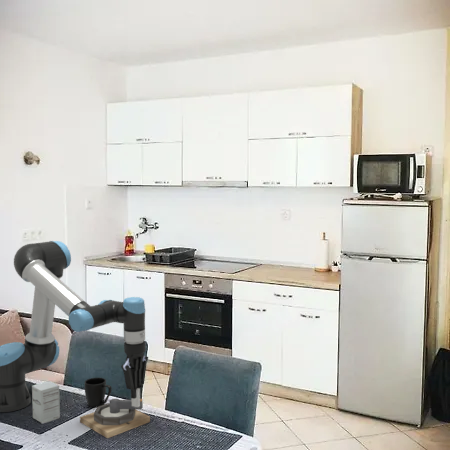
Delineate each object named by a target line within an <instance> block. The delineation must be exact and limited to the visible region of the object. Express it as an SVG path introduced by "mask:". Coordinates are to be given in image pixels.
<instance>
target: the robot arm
mask: <svg viewBox="0 0 450 450" xmlns="http://www.w3.org/2000/svg"><path fill="white" fill-rule="evenodd" d="M71 262H72V256H71V252H70V249H69V247H68V246H67V245H66V244H65V243H64V242H62V241H59V240H55V241H54V240H49V241H43V242H35V243H27V244H24V245H22V246H21V247H20V248H18V250H17V251H16V252H15V254H14V258H13V267H14V270H15V272H16V274H17V275H18V276H19V277H20V278H21V279H22V280H23V281H24V282H26V283H31V284H32V285H33V286H34V292H33V302H32V311H31V320H30V325H29V326H30V327H29V332H28V333H27V334H26V335H25V337H24V343H23V342H20V341H19V342H17V341H16V342H15V341H13V342H9V343H5V344H4V343H3V344H2V345H0V413H9V412H15V411H19V410H22V409H24V408H26V407H29V406H30V404H31V403H32V395H31V394H30V391H29V388H28V386H27V383H26V374H29V373H33V372H35V371H38V370H41V369H46V368H48V367H50V366H51V365H53V364H54V363H56V361H57V360H58V358H59V356H60V346H59V343H58V340H57V339H56V337H55V335H54V334H53V333H52V332H53V327H54V326H53V324H54V318H55V317H54V316H55V311H56V310H55V309H56V307H57V308H58V309H60V310H61V312H63V313H64V314H65V315H66V316H67V317H68V324H69V325H70V328H71V330H73V331H74V332H77V333H80V332H86V331H90V330H92V329H95V328H98V327H102V326H104V325H109V324H112V323H116V324H117V323H118V324H123V341H124V343H123V346H124V347H123V352H124V354H125V355H126V357H125V363H124V364H121V366H120V367H121V369H122V371H123V372H122V373H123V375H124V382H125V386H126V390H127V389H128V390H130V397H131V400H132V406H134V407H139V406H140V399H141V389H142V388H144V384H145V379H146V371H147V363H148V361H149V356H148V355H147V356H146V355H145V352H146V351H147V350H146V347H147V345H146V341H145V340H146V306H145V305H146V303H145V300H144V298H142V297H140V296H139V297H138V296H132V297H126V298H124V299H123V301H117V300H112V299H103V300H101V301H100V302H99V303H98V304H96V305H90V304H89V303H88V302H86V301H85V300H84V299H83V298H81V297H80V296H79V295H78V294H77V293H76V292H75V291H73V290H72V289H71V288H70V287H69V286H68V285H67V284H65V282H63V281H62V280H61V278H63V276H64V270H66V269H68V267H70V265H71Z"/></svg>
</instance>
